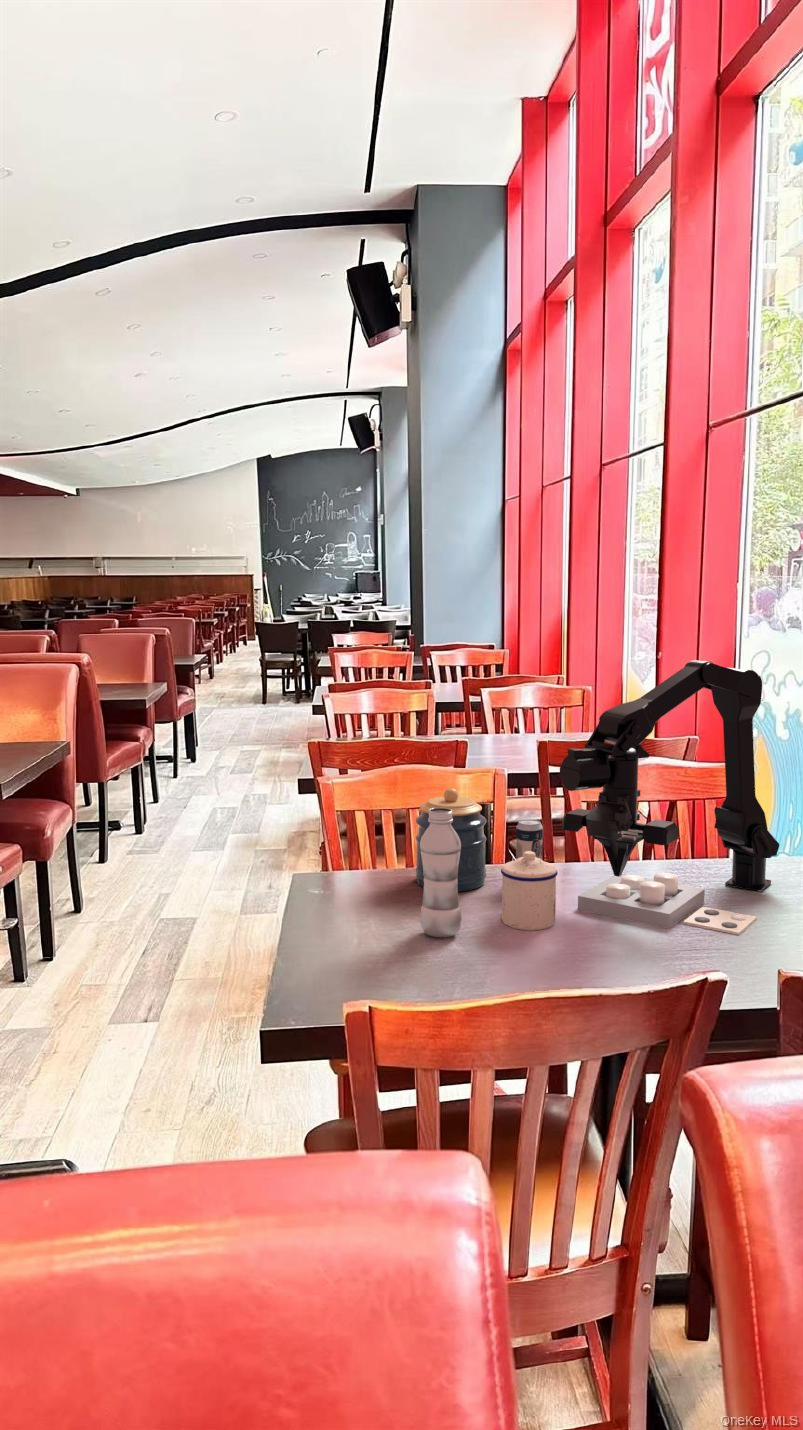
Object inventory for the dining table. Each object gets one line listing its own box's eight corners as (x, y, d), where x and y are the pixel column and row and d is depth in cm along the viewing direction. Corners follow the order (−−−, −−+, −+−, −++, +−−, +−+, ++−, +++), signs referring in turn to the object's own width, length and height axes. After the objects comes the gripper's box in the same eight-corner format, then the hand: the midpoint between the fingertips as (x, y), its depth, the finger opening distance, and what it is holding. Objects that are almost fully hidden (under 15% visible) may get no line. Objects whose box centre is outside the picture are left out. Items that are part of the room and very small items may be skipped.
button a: (626, 891, 176) (626, 874, 176) (647, 895, 174) (648, 877, 173) (616, 897, 173) (617, 879, 173) (638, 901, 171) (638, 883, 170)
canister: (401, 883, 183) (400, 789, 181) (446, 868, 193) (446, 778, 190) (455, 898, 174) (455, 799, 172) (500, 881, 184) (501, 787, 181)
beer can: (541, 891, 178) (542, 825, 176) (514, 889, 179) (515, 824, 177) (542, 883, 182) (543, 819, 181) (516, 882, 183) (517, 818, 182)
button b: (658, 889, 173) (659, 871, 172) (681, 893, 170) (681, 875, 170) (649, 895, 169) (650, 877, 169) (672, 899, 167) (672, 881, 167)
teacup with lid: (567, 926, 159) (569, 856, 158) (518, 935, 156) (519, 862, 154) (528, 904, 170) (529, 838, 169) (481, 912, 167) (482, 844, 165)
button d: (645, 898, 168) (645, 880, 167) (667, 902, 165) (668, 884, 165) (635, 904, 165) (636, 885, 164) (658, 909, 162) (659, 890, 162)
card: (702, 909, 168) (702, 905, 168) (756, 919, 162) (757, 916, 162) (683, 923, 160) (683, 920, 160) (739, 935, 155) (739, 931, 155)
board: (617, 886, 180) (617, 873, 180) (704, 902, 171) (704, 889, 171) (577, 909, 168) (577, 895, 167) (669, 928, 158) (669, 914, 158)
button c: (611, 900, 171) (612, 882, 171) (633, 904, 169) (634, 886, 169) (601, 906, 168) (602, 887, 168) (623, 910, 166) (624, 892, 166)
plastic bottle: (433, 945, 152) (433, 817, 149) (412, 931, 158) (412, 808, 155) (469, 938, 155) (470, 812, 152) (447, 925, 160) (447, 803, 158)
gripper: (547, 786, 165) (546, 878, 167) (654, 801, 154) (651, 898, 156) (577, 776, 174) (575, 862, 176) (681, 788, 163) (678, 881, 165)
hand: (617, 876), depth 168 cm, fingers closed
